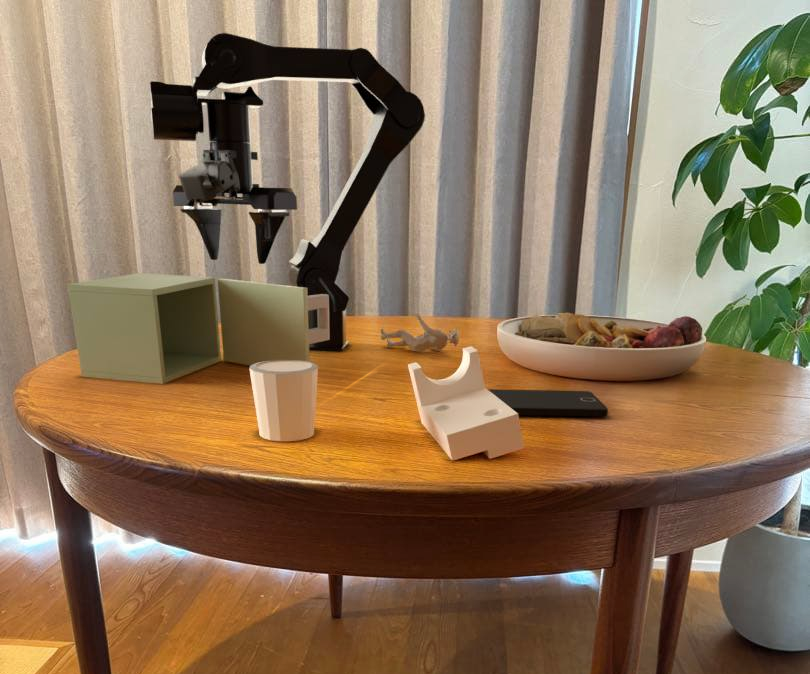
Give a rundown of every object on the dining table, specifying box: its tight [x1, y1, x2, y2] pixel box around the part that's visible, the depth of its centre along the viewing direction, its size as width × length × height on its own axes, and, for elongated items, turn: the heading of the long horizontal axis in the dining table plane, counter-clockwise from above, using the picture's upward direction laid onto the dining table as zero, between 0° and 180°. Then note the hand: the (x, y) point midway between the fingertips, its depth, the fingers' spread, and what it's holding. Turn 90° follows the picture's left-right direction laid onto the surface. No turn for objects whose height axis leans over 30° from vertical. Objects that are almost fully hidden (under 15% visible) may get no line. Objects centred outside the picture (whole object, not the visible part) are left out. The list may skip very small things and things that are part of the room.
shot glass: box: [248, 360, 319, 442], centre depth 77 cm, size 7×7×7 cm
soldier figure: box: [380, 313, 460, 353], centre depth 120 cm, size 8×5×12 cm
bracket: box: [407, 345, 525, 461], centre depth 77 cm, size 13×7×8 cm, turn 12°
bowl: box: [496, 311, 707, 382], centre depth 113 cm, size 30×30×8 cm
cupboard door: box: [217, 278, 330, 367], centre depth 107 cm, size 7×16×11 cm, turn 56°
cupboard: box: [67, 272, 222, 385], centre depth 103 cm, size 12×16×12 cm
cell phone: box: [486, 388, 609, 418], centre depth 90 cm, size 9×18×1 cm, turn 91°
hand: (237, 261), depth 113 cm, fingers open, 9 cm apart
